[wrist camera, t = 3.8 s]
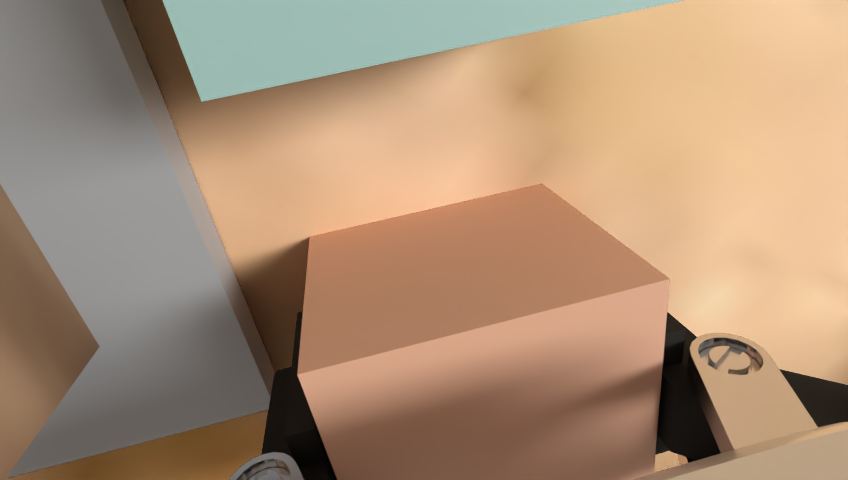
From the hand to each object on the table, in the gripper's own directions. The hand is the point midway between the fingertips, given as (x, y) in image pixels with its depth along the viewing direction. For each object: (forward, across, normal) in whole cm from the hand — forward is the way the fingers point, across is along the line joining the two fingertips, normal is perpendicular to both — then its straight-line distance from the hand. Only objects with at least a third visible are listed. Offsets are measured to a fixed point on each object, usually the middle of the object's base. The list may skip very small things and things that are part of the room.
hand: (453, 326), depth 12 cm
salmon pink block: (+1, 0, 0) cm, 1 cm away
